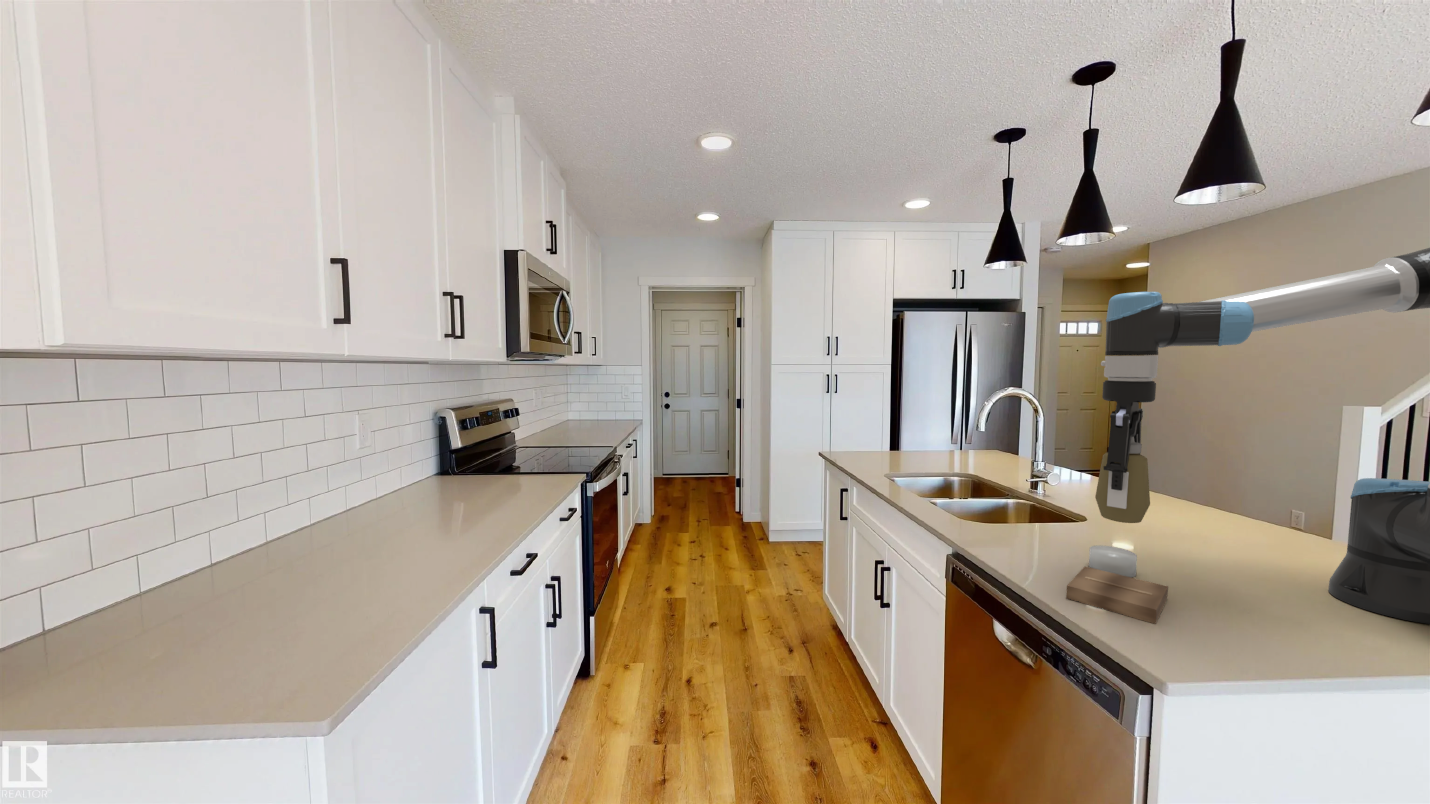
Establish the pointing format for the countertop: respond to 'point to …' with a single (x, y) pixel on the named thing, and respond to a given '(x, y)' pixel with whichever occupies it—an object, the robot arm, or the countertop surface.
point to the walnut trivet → (1118, 594)
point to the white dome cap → (1113, 560)
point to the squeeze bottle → (1136, 489)
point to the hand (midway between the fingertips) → (1121, 502)
